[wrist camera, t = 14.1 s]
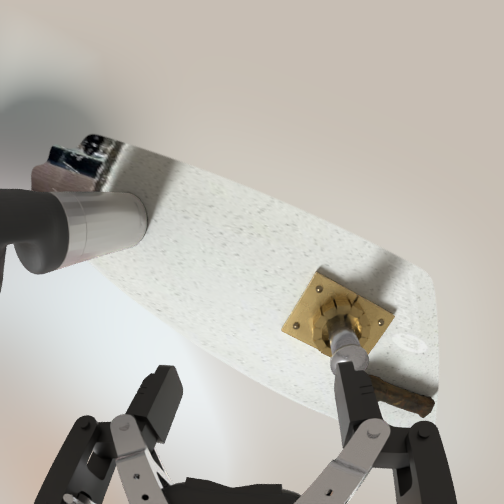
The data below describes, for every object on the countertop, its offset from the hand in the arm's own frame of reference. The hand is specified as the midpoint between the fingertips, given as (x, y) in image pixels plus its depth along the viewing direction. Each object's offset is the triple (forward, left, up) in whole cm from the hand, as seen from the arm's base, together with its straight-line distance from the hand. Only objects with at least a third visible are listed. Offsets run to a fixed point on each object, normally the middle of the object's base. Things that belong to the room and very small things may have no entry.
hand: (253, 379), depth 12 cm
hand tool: (+14, -26, -27) cm, 41 cm away
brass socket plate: (+6, -10, -27) cm, 29 cm away
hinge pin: (+6, -10, -26) cm, 29 cm away
